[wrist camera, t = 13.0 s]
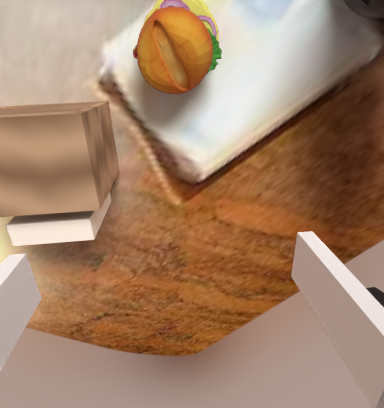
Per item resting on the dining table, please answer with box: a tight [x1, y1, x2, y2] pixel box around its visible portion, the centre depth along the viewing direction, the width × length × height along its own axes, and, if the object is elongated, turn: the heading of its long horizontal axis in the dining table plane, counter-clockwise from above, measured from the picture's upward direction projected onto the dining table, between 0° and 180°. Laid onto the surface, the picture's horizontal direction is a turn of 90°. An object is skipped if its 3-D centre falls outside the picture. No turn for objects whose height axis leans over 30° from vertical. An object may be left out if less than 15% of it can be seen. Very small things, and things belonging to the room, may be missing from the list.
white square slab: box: [6, 191, 111, 246], centre depth 40 cm, size 4×10×12 cm, turn 93°
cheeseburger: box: [133, 0, 222, 94], centre depth 34 cm, size 10×11×10 cm
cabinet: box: [0, 102, 119, 217], centre depth 37 cm, size 17×14×14 cm
